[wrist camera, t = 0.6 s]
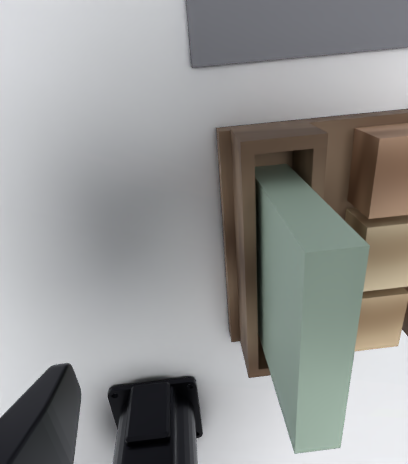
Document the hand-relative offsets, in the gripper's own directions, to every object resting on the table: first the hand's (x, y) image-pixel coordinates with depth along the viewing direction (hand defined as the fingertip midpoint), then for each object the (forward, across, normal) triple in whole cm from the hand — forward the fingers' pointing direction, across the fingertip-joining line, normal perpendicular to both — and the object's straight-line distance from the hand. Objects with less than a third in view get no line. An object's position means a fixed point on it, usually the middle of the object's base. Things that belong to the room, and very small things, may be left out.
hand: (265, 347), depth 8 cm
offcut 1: (+12, -9, 0) cm, 15 cm away
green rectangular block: (+12, -3, +4) cm, 13 cm away
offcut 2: (+12, -9, +4) cm, 16 cm away
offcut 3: (+12, -9, +9) cm, 17 cm away
